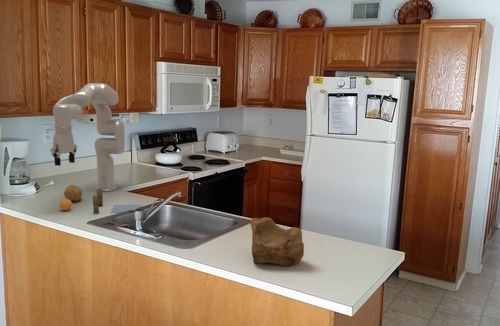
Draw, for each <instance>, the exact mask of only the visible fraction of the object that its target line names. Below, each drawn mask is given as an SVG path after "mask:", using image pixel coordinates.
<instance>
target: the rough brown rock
mask: <svg viewBox="0 0 500 326" xmlns="http://www.w3.org/2000/svg"><path fill="white" fill-rule="evenodd" d="M249 223H250V227H251V232H252V233H251V235H252V237H251V239H252V240H251V242H252V244H251V256H252V262H253V263H254V264H265V263H270V264H276V265H279V266H284V267H290V266H291V265H295V264H297V263H299V262H301V261H302V259H303V258H304V256H305V255H304V254H305V252H304V247H305V245H304V242H303V232H302V229H301V228H299V227H297V226H296V227H295V226H294V227H293V226H292V227H290V228H287V229H285V228H283V227H281V226H279V225H277V224H276V223H275V221H274V220H273V219H272V218H271V217H266V216H265V217H261V218H259V217H253V218H251V219H250V222H249Z"/></svg>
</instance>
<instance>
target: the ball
mask: <svg viewBox="0 0 500 326" xmlns="http://www.w3.org/2000/svg"><path fill="white" fill-rule="evenodd" d="M72 205H73V201H70V200H69V199H66V198H63V199H61V200H60V202H59V208H60V209H61V210H62V211H69V210H71V208H72Z"/></svg>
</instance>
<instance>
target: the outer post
mask: <svg viewBox="0 0 500 326" xmlns="http://www.w3.org/2000/svg"><path fill="white" fill-rule="evenodd" d="M92 206H93V207H92V208H93V209H92V210H93V214H95V215H97V214H100V207H99V202H98V195H97V194H94V195H92Z"/></svg>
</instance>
